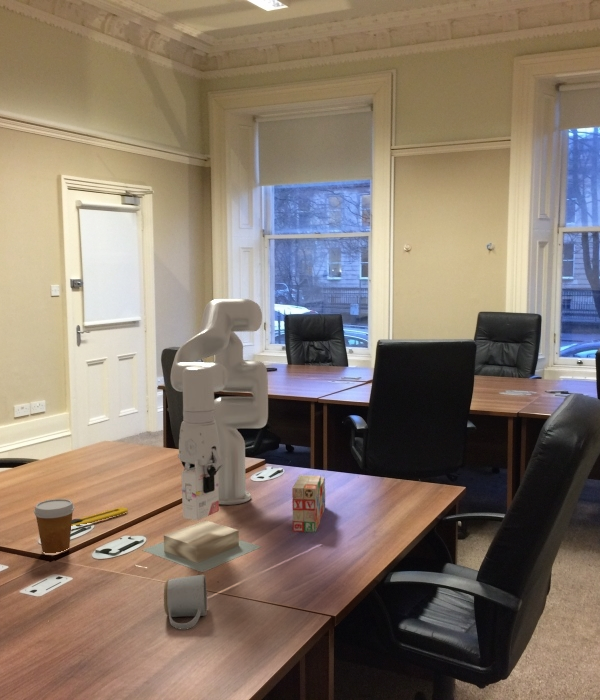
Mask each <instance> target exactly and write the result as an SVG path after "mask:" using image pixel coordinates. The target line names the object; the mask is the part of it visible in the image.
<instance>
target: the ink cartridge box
mask: <svg viewBox="0 0 600 700" xmlns="http://www.w3.org/2000/svg"><path fill="white" fill-rule="evenodd" d="M208 469H210V466H208ZM180 475H181V497H182V498H181V499H182V501H181V503H182V518H183V519H187V520H192V521H201V520H202V519H204V518H207V517H209V516H211V515H213V514H216V513H218V512H220V506H219V505H220V504H219V493H218V471H217V472H216V475H214V485H215V490H214V491H212V492H209V493H204V492H203V477H205V474H204V470H203V466H199V465H198V460H196V461H195V467H193V468H190V469H187V470H184V469H183V470H181V474H180Z"/></svg>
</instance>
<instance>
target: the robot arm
mask: <svg viewBox="0 0 600 700" xmlns="http://www.w3.org/2000/svg"><path fill="white" fill-rule="evenodd" d="M261 309H262V308H261V306H260V305H259V304H258V303H257V302H255V300H251V299H249V298H217V299H213V300H210V301H209V302H208V303H207V304H206V305H205V307H204V309H203V314H202V318H201V322H200V326H199V331H198V334H195V335H194V336H193V337H191V338H189V339H188V340H187V341H186V342H185V343H184V344H182V345H181V346H179V348H178V349H177V351H176V353H175V356H174V359H173V363H172V366H171V370H170V384H171V387H172V388H173V389H174V390H175V391H177V392H181V393H182V416H183V419H182V420H183V421H181V424H180V427H179V428H180V429H179V436H178V437H179V439H178V454H177V458H178V459H179V461H180V462H181V464H182V467H183V468H184V469H183V471H184V470H187V469H190V468H193V467H195V461H196V460H198V465H199V466H203V470H204V474H205V477H203V492H204V493H209V492H212V491H214V490H215V485H214V475H216V472H217V471H218V493H219V505H238V504H244V503H246V502H248V501H250V500H251V497H252V494H251V493H250V492H249V491H248V490H246V487H247V486H246V484H247V483H246V482H247V481H246V443H245V442H246V441H245V440H244V437H243V436H242V434H241V433H240V431H238V429H262V428H264V427H265V426H266V425H267V423H268V419H269V376H268V370H267V369H268V368H267V367H266V365H265V363H264V362H262V361H258V360H244V345H243V342H242V340H241V339H240V337H239V336H238V334H236V332H241V333H242V332H243V333H245V332H250V333H251V332H252V333H253V332H257V331H259V329H260V328H261V325H262V322H263V312H262V310H261ZM213 356H214V362H206V361H205V362H203V361H201V362H200V360H203V359H204V360H205V359H206V358H210V357H213ZM198 361H199V362H198ZM217 392H218V393H219V392H224V393H250V394H251V395H252V396H219V397H216V398H215V393H217ZM208 466H210V469H208Z"/></svg>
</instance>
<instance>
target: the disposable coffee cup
mask: <svg viewBox="0 0 600 700" xmlns="http://www.w3.org/2000/svg"><path fill="white" fill-rule="evenodd" d="M34 508H35V509H34V510H33V514H34V516H35V518H36V522H37V528H38V534H39V539H40V545H41V551H43V552H45V553H56V552H61V551H64V550H66V549H68V548H69V549H70V546H71V544H70V543H71V534H72V530H71V525H72V520H73V512H74V510H75V505H74V504H73V501H72V500H70V499H67V498H53V499H48V500H44V501H40V502H38V503H36V504H35V507H34ZM43 552H42V553H43Z"/></svg>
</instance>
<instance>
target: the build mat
mask: <svg viewBox="0 0 600 700" xmlns="http://www.w3.org/2000/svg"><path fill="white" fill-rule="evenodd" d="M260 548H262V546H261V545H257V544H254V543H251V542H249V541H244V540H241V539H239V546H237V547H234V548H232V549H230V550H227V551H225V552H222V553H220V554H218V555H215V556H213V557H210V558H208V559H206V560H203V561H201V562H198V563H196V562H193V561H191V560H188V559H185V558H182V557H179V556H177V555H174V554H171V553H168V552H165V551H164V541H162V542H159V543H156V544H154V545H151V546H148V547H146V548H143V549H141V551H144V552H146V553H148V554H151V555H154V556H155V557H156V556H157V557H159V558H162V559H164V560H167V561H170V562H173V563H175V564H178V565H181V566H184V567H187V568H189V569H191V570H194V571H198V572H199V573H204V572H207V571H210V570H212V569H213V568H217V567H218V566H222V565H223V564H226V563H228V562H229V561H232V560H235V559H237V558H239V557H242V556H243V555H246V554H249V553H250V552H254V551H255V550H258V549H260Z"/></svg>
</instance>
